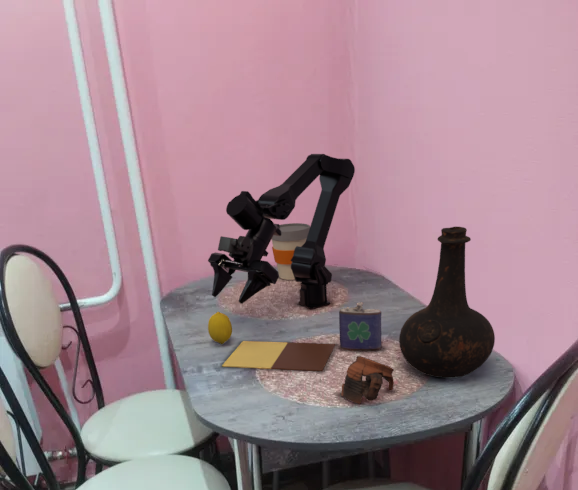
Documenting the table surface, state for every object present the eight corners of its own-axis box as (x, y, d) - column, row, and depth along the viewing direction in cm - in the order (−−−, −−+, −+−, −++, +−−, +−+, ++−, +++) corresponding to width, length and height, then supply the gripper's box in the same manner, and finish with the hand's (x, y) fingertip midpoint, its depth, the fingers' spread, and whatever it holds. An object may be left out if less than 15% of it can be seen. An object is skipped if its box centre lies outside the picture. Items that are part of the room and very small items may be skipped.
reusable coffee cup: (320, 272, 191) (318, 224, 185) (300, 283, 182) (296, 233, 175) (287, 268, 198) (283, 222, 191) (265, 279, 188) (261, 230, 182)
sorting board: (242, 342, 142) (242, 340, 142) (335, 345, 136) (335, 344, 136) (222, 366, 130) (221, 365, 130) (322, 371, 124) (322, 370, 124)
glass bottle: (382, 374, 121) (381, 233, 109) (429, 345, 133) (433, 215, 120) (463, 397, 110) (473, 243, 98) (507, 363, 121) (521, 222, 109)
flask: (382, 347, 133) (381, 300, 129) (380, 352, 131) (380, 305, 126) (341, 345, 136) (339, 300, 131) (338, 350, 133) (336, 304, 129)
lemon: (230, 349, 139) (226, 316, 135) (207, 348, 140) (202, 316, 136) (236, 339, 143) (232, 307, 140) (214, 339, 145) (210, 307, 141)
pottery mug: (331, 391, 117) (346, 350, 116) (375, 405, 119) (389, 366, 118) (349, 403, 105) (366, 359, 104) (397, 419, 108) (414, 375, 107)
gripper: (209, 218, 141) (178, 275, 139) (265, 224, 129) (232, 287, 127) (237, 244, 150) (208, 299, 147) (292, 253, 138) (262, 312, 136)
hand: (226, 299), depth 139 cm, fingers open, 9 cm apart
